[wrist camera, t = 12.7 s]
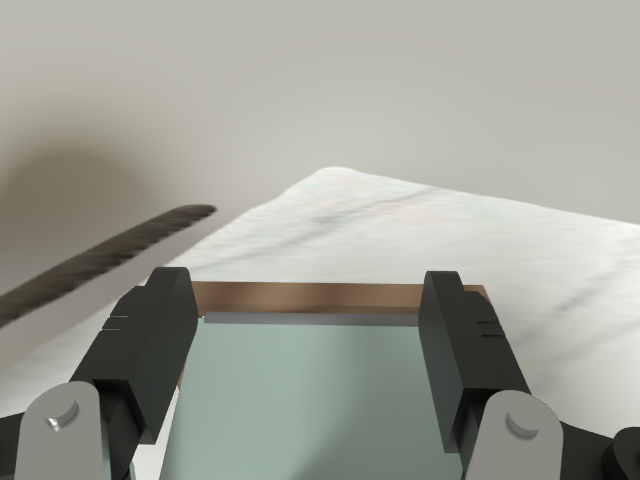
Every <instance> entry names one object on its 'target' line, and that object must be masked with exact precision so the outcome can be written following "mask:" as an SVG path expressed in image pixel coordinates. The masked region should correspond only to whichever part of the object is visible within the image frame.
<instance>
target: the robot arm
mask: <svg viewBox="0 0 640 480" xmlns="http://www.w3.org/2000/svg"><path fill="white" fill-rule="evenodd" d="M197 326H198V308H197V304H196V300H195V295H194V291H193V287H192V283H191V279H190V274H189V271H188V269H187V268H186V267H156V268H155V269H154V270H153V272H152V274H151V276H150V277H149V279H148V281H147V283H146V284H145V286H135V287H134V288H132V289H131V290H130V291H129V292H128V293H126V294H125V295H124V296H123V297H122V298H120V299H119V301H118V303H117V304H116V306H115V307H114V309H113V311H112V312H111V314H110V318H108V319H107V320H106V322H105V324H104V325H103V327H102V331H100V332H99V333H98V335H97V337H96V338H95V340H94V341H93V343H92V345H91V346H90V348H89V350H88V351H87V353H86V354H85V356H84V358H83V359H82V361H81V363H80V364H79V366H78V367H77V369H76V371H75V372H74V374H73V375H72V377H71V379H70V380H69V382H67V383H63V384H60V385H58V386H55V387H53V388H51V389H49V390H48V391H46V392H45V393H43V394H42V395H41V396H39V397H38V398H37V399H36V400H35V401H34V402H33V403H32V404H31V405H30V406H29V407H28V409H27V410H26V412H22V413H19V414H15V415H11V416H7V417H3V418H0V480H136V478H135V470H134V464H133V462H132V458H133V456H134V453H135V451H136V448H137V446H138V444H153V445H155V443H156V441H157V438H158V435H159V432H160V430H161V427H162V424H163V421H164V419H165V416H166V413H167V410H168V408H169V405H170V402H171V400H172V397H173V394H174V391H175V389H176V386H177V383H178V380H179V378H180V375H181V372H182V369H183V367H184V364H185V361H186V358H187V356H188V353H189V350H190V347H191V345H192V342H193V339H194V336H195V334H196V331H197ZM418 329H419V337H420V342H421V346H422V351H423V356H424V360H425V365H426V370H427V374H428V379H429V383H430V388H431V393H432V397H433V402H434V407H435V411H436V416H437V420H438V425H439V430H440V434H441V439H442V444H443V448H444V453H459V455H460V459H461V463H462V467H463V471H462V474H461V476H460V480H640V427H628V428H624V429H622V430H620V431H619V432H618V433H617V434H616V436H615V437H614V438H613V439H612V438H609V437H606V436H603V435H599V434H596V433H593V432H589V431H586V430H583V429H580V428H576V427H574V426H571V425H568V424H566V423H564V422H562V421H560V420H559V419H558V418H557V416H556V415H555V413H554V412H553V411H552V410H551V409H550V408H549V407H548V406H547V405H546V404H545V403H543V402H542V401H541V400H539V399H537V398H536V397H534V396H532V394H531V392H530V390H529V388H528V386H527V384H526V381H525V379H524V377H523V374H522V372H521V370H520V368H519V365H518V363H517V361H516V358H515V356H514V354H513V352H512V349H511V347H510V345H509V343H508V340H507V339H505V333H504V331H503V329H502V327H501V325H499V320H498V317H497V315H496V313H495V311H494V308H493V306H492V305H491V304H490V303H489V302H488V301H487V300H486V299H485V298H484V297H483V296H482V295H481V294H480V293H479V292H478V291H465V290H464V287H463V284H462V282H461V279H460V277H459V274H458V273H457V272H456V271H427V272H426V275H425V279H424V285H423V291H422V297H421V303H420V309H419V316H418Z"/></svg>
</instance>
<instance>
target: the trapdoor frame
mask: <svg viewBox="0 0 640 480" xmlns="http://www.w3.org/2000/svg"><path fill="white" fill-rule="evenodd" d="M191 283H192V287H193V291H194V295H195V300H196V304H197V308H198V318H202V316H205V314H206V312H269V313H334V314H399V315H419V309H420V303H421V297H422V291H423V285H424V284H354V283H278V282H202V281H191ZM463 287H464V290H465V291H478V292H479V293H480V294H481V295H482V296H483V297H484V298H485V299H486V300H487V301H488V302H489V303H490V304H491V302H490V300H489V298H488V295H487V293H486V291H485V289H484V286H483V285H463ZM499 325H500V323H499ZM505 339H506V337H505ZM186 360H187V358H186ZM185 364H186V361H185ZM185 364H184V367H183V369H182V372H181V375H180V378H179V380H178V383H177V385H178V389H179V390H180V386H181V382H182V377H183V373H184V368H185Z"/></svg>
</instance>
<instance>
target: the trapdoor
mask: <svg viewBox="0 0 640 480" xmlns="http://www.w3.org/2000/svg"><path fill="white" fill-rule="evenodd" d="M418 316H419V315H399V314H334V313H269V312H206V314H205V317H204V318H198V326H197V331H196V334H195V336H194V339H193V342H192V345H191V347H190V350H189V353H188V356H187V360H186V364H185V368H184V373H183V377H182V382H181V386H180V390H179V395H178V399H177V403H176V408H175V412H174V417H173V421H172V425H171V430H170V434H169V438H168V443H167V447H166V451H165V456H164V460H163V465H162V469H161V473H160V478H159V480H460V476H461V474H462V471H463V467H462V463H461V459H460V455H459V453H444V448H443V444H442V439H441V434H440V430H439V425H438V420H437V416H436V411H435V407H434V402H433V397H432V393H431V388H430V383H429V379H428V374H427V370H426V365H425V360H424V356H423V351H422V346H421V342H420V337H419V329H418Z"/></svg>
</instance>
